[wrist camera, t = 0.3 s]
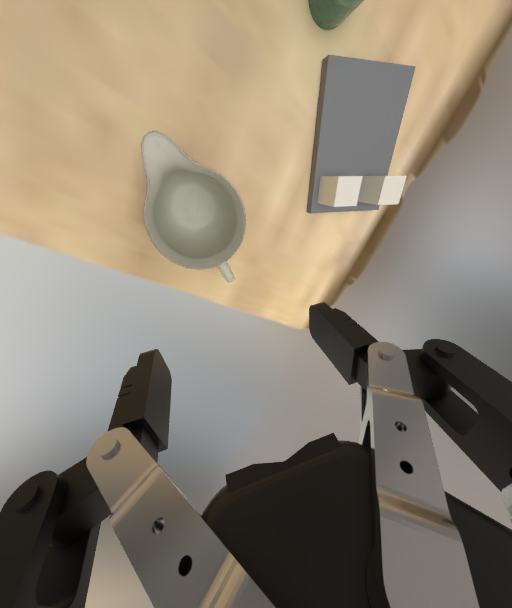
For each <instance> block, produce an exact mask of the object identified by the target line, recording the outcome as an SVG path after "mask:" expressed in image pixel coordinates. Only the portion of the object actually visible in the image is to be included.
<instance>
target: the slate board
mask: <svg viewBox="0 0 512 608" xmlns="http://www.w3.org/2000/svg"><path fill="white" fill-rule="evenodd" d="M414 70H415V66H407V65H400V64H393V63H385V62H378V61H371V60H363V59H356V58H349V57H341V56H334V55H328V56H327V57H326V58H325V59H323V63H322V73H321V82H320V92H319V101H318V111H317V120H316V130H315V139H314V149H313V158H312V168H311V177H310V187H309V196H308V206H307V212H309V213H322V212H342V211H362V210H378V209H379V206H380V205H375V204H369V203H362V202H358V201H357V206H343V207H332V206H327V205H323V204H318V203H317V201H318V193H319V185H320V177H321V176H387V175H388V171H389V167H390V163H391V159H392V155H393V151H394V148H395V144H396V140H397V136H398V132H399V128H400V124H401V121H402V117H403V113H404V109H405V105H406V101H407V97H408V93H409V90H410V86H411V82H412V78H413V74H414ZM362 178H363V177H362ZM361 183H362V182H361ZM359 192H360V191H359ZM358 197H359V196H358Z"/></svg>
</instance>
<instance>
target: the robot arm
mask: <svg viewBox="0 0 512 608" xmlns="http://www.w3.org/2000/svg"><path fill="white" fill-rule="evenodd" d="M309 329H310V333H311V336H312V338H313V339H314V340H315V342H316V343H317V344H318V345H319V347H320V348H321V349H322V351H323V352H324V353H325V354H326V356H327V357H328V358H329V360H330V361H331V362H332V363H333V365H334V366H335V367H336V368H337V370H338V371H339V372H340V374H341V375H342V376H343V377H344V379H345V380H346V381H347V382H348V384H349V385H350V384H353V383H356V382H358V383H359V384H360V386H361V388H360V433H359V443H355V442H350V441H338V440H337V438H336V436H335V435H334V433H332V434H329V435H327V436H324V437H322V438H319V439H317V440H314V441H312V442H309V443H308V444H306V445H305V446H304V447H303V448H301V449H300V450H299V451H298V452H297V453H295V454H294V455H292V456H291V457H290V458H289V459H287V460H286V461H284V462H275V463H262V464H253V465H250V466H248V467H245V468H243V469H240V470H238V471H235V472H232V473H230V474H227V475H226V482H227V485H226V486H224V487H223V488H222V489H221V490H220V491H219V492H218V493H217V494H216V495H215V496H214V498H213V499H212V500H211V501H210V502H209V504H208V506H207V507H206V509H205V510H204V512H203V514H202V516H201V515H200V513H199V512H198V511H197V510H196V509H195V507H194V506H193V505H192V504H191V503H190V502H189V500H188V499H187V498H186V497H185V496H184V495H183V493H182V492H181V491H180V490H179V489H178V487H177V486H176V485H175V484H174V482H173V481H172V480H171V479H170V478H169V476H168V475H167V474H166V473H165V472H164V471H163V469H162V468H161V467H160V466H159V465H158V464H157V460H158V452H160V451H163V450H166V449H167V448H168V433H169V416H170V400H171V382H172V380H171V374H170V371H169V369H168V367H167V365H166V363H165V362H164V359H163V357H162V355H161V354H160V352H159V350H158V349H155V350H152V351H148V352H144V353H141V354H140V356H139V359H138V363H137V366H134V367H131V368H130V369H129V371H128V372H127V374H126V375H125V376H124V378H123V381H122V385H121V389H120V392H119V395H118V397H119V398H118V399H117V402H116V405H115V408H114V412H113V415H112V419H111V422H110V425H109V429H108V432H107V433H105V434H104V435H103V436H101V437H100V438H99V439H98V440H97V441H96V442H95V444H94V445H93V447H92V448H91V449H90V451H89V453H88V456H87V457H86V458H85V459H83V460H82V461H80V462H79V463H77V464H75V465H74V466H72V467H71V468H69V469H67V470H66V471H64V472H62V473H61V474H59V475H57V474H56V473H54V472H52V471H44V472H40V473H38V474H36V475H34V476H32V477H31V478H30V479H28V480H27V481H25V482H24V483H23V484H22V485H21V486H19V487H18V488H17V489H16V491H14V493H13V494H12V495H11V496H10V497H9V499H8V500H7V502H6V503H5V504H4V506H3V508H2V510H1V512H0V608H85V602H86V596H87V592H88V587H89V581H90V577H91V571H92V566H93V561H94V556H95V551H96V545H97V540H98V535H99V530H100V525H101V521H103V520H104V519H105V518H107V517H108V516H109V515H110V514H112V515H111V516H110V518H109V519H110V523H111V525H112V528H113V529H114V531H115V533H116V535H117V537H118V539H119V541H120V543H121V545H122V547H123V549H124V551H125V552H126V554H127V556H128V558H129V560H130V562H131V564H132V566H133V568H134V570H135V572H136V574H137V575H138V577H139V579H140V581H141V583H142V585H143V587H144V589H145V591H146V593H147V595H148V596H149V598H150V600H151V602H152V604H153V606H154V608H512V530H511V529H509V528H507V527H506V526H504V525H502V524H501V523H499V522H497V521H495V520H494V519H492V518H490V517H489V516H487V515H485V514H483V513H482V512H480V511H478V510H476V509H475V508H473V507H471V506H470V505H468V504H466V503H464V502H463V501H461V500H459V499H458V498H456V497H454V496H452V495H451V494H449V493H447V492H445V491H444V489H443V484H442V480H441V476H440V472H439V468H438V464H437V459H436V456H435V451H434V447H433V443H432V439H431V434H430V430H429V426H428V422H427V418H426V413H425V411H426V412H427V413H428V414H429V415H430V416H431V417H432V419H433V420H434V421H435V422H436V423H437V424H438V425H439V426H440V427H441V428H442V429H443V430H444V431H445V432H446V434H447V435H448V436H449V437H450V438H451V439H452V440H453V441H454V442H455V443H456V444H457V445H458V446H459V447H460V448H461V450H462V451H463V452H464V453H465V454H466V455H467V456H468V457H469V458H470V459H471V460H472V461H473V462H474V463H475V464H476V465H477V467H478V468H479V469H480V470H481V471H482V472H483V473H484V474H485V475H486V476H487V477H488V478H489V479H490V480H491V482H492V483H493V484H494V485H495V486H496V487H497V488H498V489H499V490H500V491H501V492H502V499H503V502H504V504H505V506H506V508H507V510H508V511H509V512H508V516H509V519H510V520H511V522H512V382H511V381H509V380H508V379H506V378H505V377H503V376H502V375H500V374H499V373H497V372H496V371H495V370H493V369H492V368H490V367H489V366H487V365H486V364H484V363H483V362H481V361H480V360H478V359H477V358H475V357H474V356H472V355H471V354H470V353H468V352H467V351H465V350H464V349H462V348H461V347H459V346H458V345H456V344H454V343H451V342H449V341H445V340H440V339H431V340H428V341H426V342H425V343H424V345H423V348H422V349H415V350H402V349H400V348H399V347H397V346H395V345H393V344H391V343H387V342H378V341H377V340H376V339H375V338H374V337H372V336H371V335H370V334H369V333H368V332H367V331H366V330H364V329H363V328H362V327H361V326H360V325H359V324H357V323H356V322H355V321H354V320H353V319H351V317H350V316H348V315H347V314H346V313H345V312H343V311H340V310H338V309H336V308H335V309H332V308H330V307H329V306H328V305H327V304H326V303H325V302H322V303H318V304H315V305H311V306H310V308H309ZM451 387H453V388H454V389H456V391H458V392H459V393H460V394H461V395H462V396H463V397H465V398H466V399H467V400H468V401H469V402H471V403H472V404H473V405H474V406H475V408H476V409H477V411H478V413H479V414H478V413H477V412H475V411H474V410H473V409H472V408H471V407H470V406H469V405H467V404H466V403H465V402H464V401H463V400H462V399H461V398H459V397H458V396H457V395H456V394H455V393H454V392H453V391H451V390H450V389H451Z"/></svg>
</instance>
